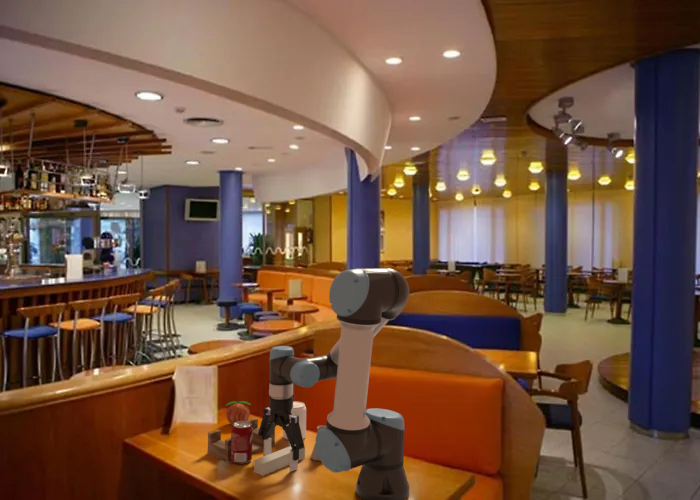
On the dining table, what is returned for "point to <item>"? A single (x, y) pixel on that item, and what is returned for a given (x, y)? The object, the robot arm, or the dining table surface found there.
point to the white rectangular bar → (275, 461)
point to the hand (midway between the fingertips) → (280, 464)
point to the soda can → (241, 442)
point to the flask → (314, 452)
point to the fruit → (237, 411)
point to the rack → (223, 448)
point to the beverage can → (299, 410)
